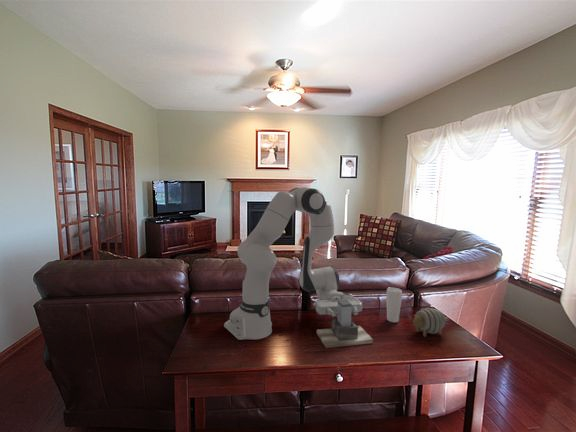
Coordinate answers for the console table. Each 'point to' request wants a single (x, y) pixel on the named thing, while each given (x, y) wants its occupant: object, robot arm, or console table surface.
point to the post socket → (343, 335)
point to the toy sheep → (429, 321)
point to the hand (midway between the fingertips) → (345, 314)
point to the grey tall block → (344, 313)
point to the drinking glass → (393, 304)
